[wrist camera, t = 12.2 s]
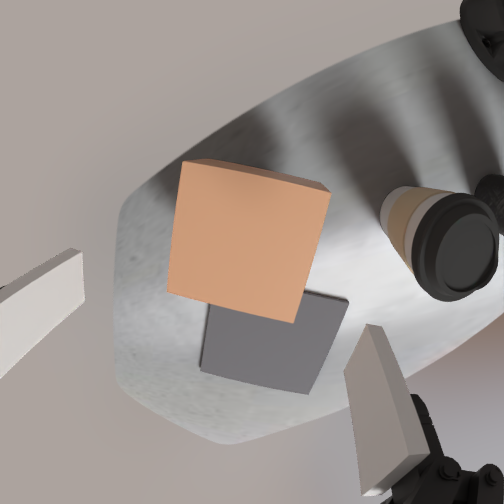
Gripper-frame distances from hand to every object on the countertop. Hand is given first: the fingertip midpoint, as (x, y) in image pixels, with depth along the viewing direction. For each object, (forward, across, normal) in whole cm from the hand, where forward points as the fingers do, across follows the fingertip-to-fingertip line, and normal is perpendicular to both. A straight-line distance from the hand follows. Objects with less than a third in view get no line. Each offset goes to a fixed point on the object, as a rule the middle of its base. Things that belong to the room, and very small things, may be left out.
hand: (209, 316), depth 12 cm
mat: (+23, +5, -17) cm, 29 cm away
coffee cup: (+23, +17, +4) cm, 29 cm away
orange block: (+17, 0, 0) cm, 17 cm away
